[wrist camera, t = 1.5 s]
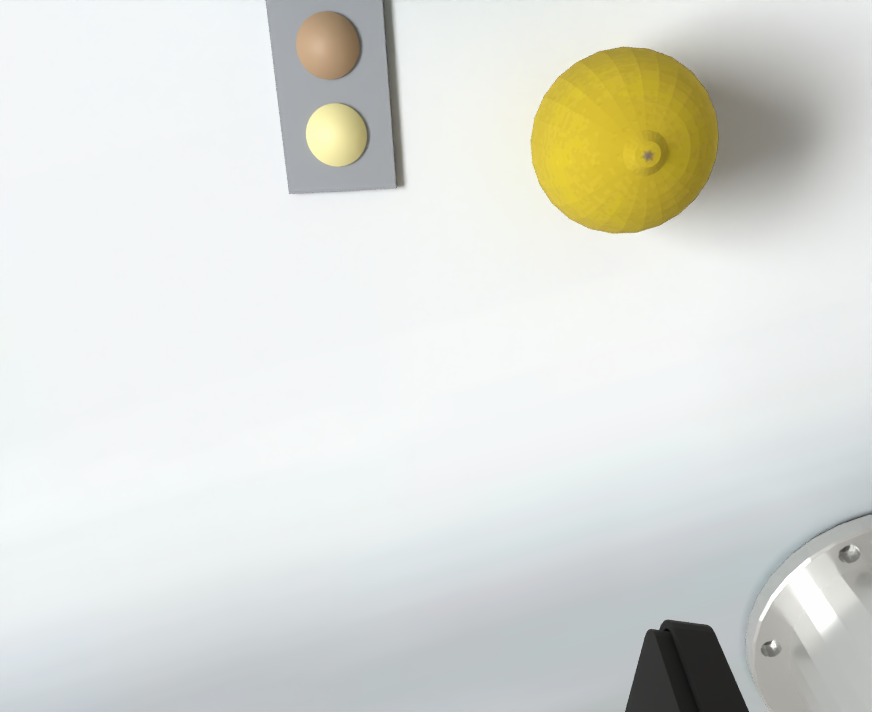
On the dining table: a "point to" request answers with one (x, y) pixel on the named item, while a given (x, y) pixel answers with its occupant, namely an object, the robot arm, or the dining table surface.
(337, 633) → the dining table surface
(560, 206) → the lemon
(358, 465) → the dining table surface
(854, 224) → the dining table surface
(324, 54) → the pair card
